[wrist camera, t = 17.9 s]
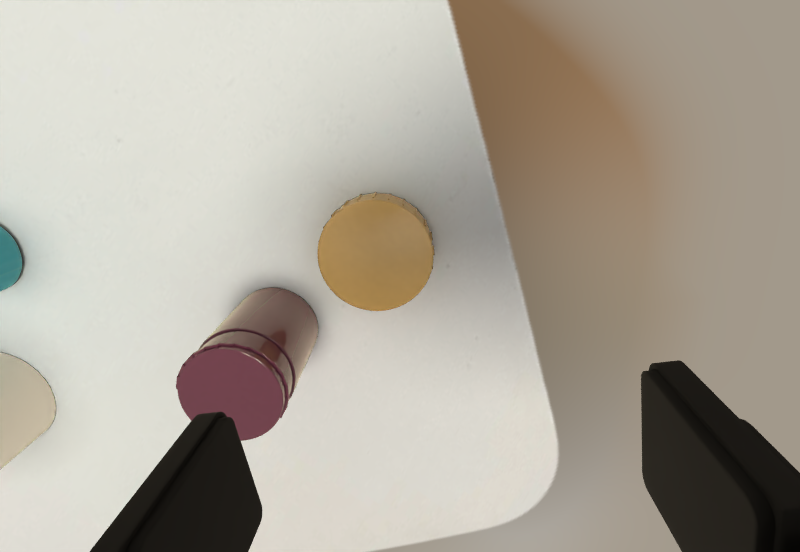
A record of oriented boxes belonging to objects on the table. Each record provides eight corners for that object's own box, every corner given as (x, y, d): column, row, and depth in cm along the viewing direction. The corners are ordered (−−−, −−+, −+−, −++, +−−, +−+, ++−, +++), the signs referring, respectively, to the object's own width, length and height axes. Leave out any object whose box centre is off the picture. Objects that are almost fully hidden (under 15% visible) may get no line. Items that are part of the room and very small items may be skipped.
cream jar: (325, 298, 30) (293, 362, 22) (310, 371, 32) (276, 453, 24) (241, 278, 30) (180, 335, 22) (230, 352, 32) (170, 429, 24)
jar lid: (344, 175, 27) (337, 180, 25) (450, 216, 28) (452, 224, 26) (310, 276, 30) (301, 288, 27) (409, 312, 30) (408, 327, 28)
